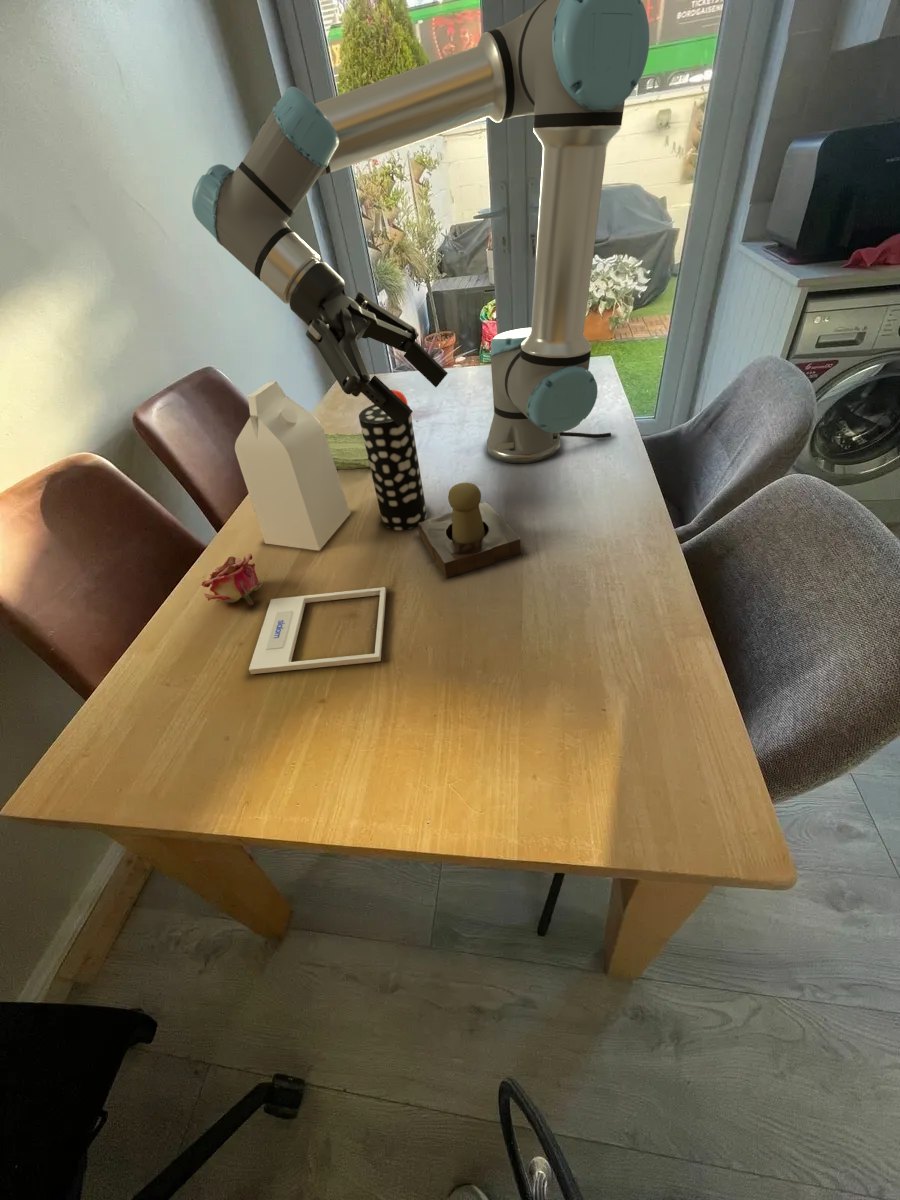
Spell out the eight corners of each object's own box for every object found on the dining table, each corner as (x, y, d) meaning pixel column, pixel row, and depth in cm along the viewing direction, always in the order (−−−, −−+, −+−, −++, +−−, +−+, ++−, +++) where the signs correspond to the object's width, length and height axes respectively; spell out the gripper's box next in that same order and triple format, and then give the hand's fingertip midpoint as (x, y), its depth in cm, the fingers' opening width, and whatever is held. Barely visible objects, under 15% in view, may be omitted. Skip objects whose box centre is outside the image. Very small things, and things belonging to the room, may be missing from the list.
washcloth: (374, 471, 116) (371, 457, 114) (298, 470, 120) (294, 457, 118) (391, 442, 126) (389, 429, 124) (321, 443, 130) (317, 430, 128)
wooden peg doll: (450, 536, 95) (443, 480, 88) (485, 532, 95) (480, 475, 88) (453, 557, 91) (445, 499, 83) (489, 552, 91) (485, 494, 83)
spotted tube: (420, 531, 98) (402, 423, 84) (376, 529, 99) (351, 423, 86) (431, 505, 104) (415, 401, 90) (389, 504, 105) (368, 402, 92)
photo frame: (270, 598, 86) (384, 586, 85) (273, 603, 87) (386, 591, 86) (248, 668, 75) (378, 655, 74) (250, 674, 76) (380, 661, 75)
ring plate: (488, 515, 99) (487, 500, 97) (522, 554, 89) (521, 539, 87) (419, 536, 96) (416, 522, 94) (446, 579, 87) (443, 564, 85)
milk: (299, 507, 108) (254, 373, 91) (350, 513, 105) (313, 374, 88) (265, 543, 100) (208, 403, 83) (319, 550, 96) (271, 405, 79)
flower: (286, 582, 88) (255, 540, 86) (244, 610, 80) (210, 565, 79) (254, 602, 93) (226, 563, 92) (213, 630, 86) (181, 588, 85)
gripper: (337, 282, 84) (440, 383, 89) (239, 335, 67) (374, 456, 72) (360, 239, 79) (468, 349, 84) (261, 284, 62) (404, 418, 67)
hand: (425, 398), depth 78 cm, fingers open, 13 cm apart
